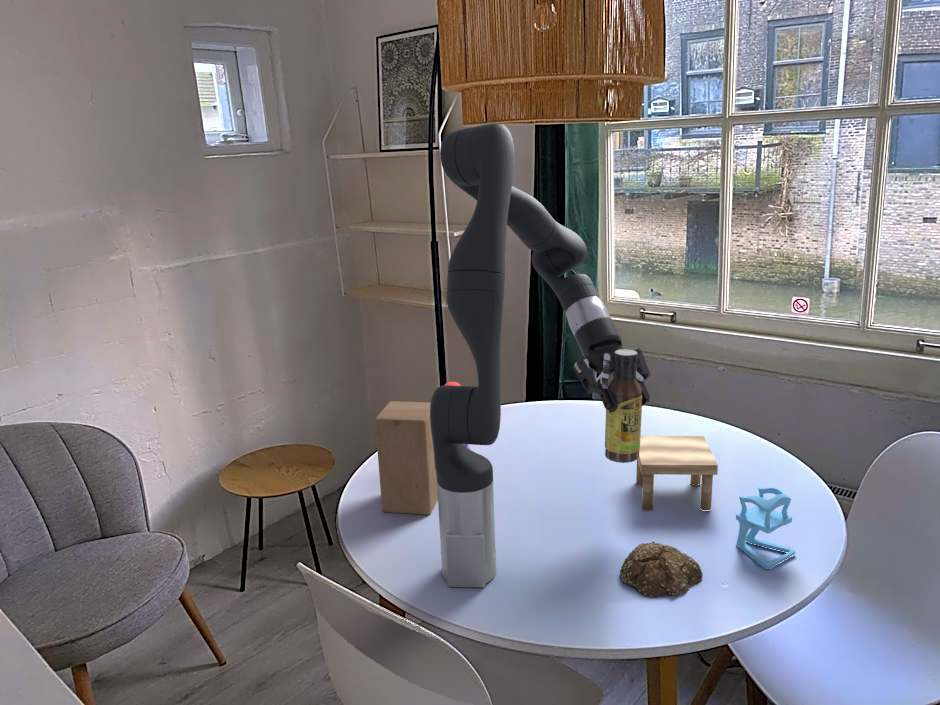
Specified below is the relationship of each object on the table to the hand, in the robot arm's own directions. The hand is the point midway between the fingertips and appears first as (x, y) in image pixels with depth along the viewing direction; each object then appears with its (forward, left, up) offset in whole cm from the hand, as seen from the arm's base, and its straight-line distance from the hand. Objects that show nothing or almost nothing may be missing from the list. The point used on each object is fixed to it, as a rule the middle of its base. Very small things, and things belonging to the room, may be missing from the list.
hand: (630, 406), depth 136 cm
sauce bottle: (+1, +1, -11) cm, 11 cm away
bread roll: (-14, -4, -25) cm, 29 cm away
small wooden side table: (+14, -10, -25) cm, 30 cm away
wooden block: (+10, +42, -25) cm, 50 cm away
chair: (-7, -22, -25) cm, 34 cm away
